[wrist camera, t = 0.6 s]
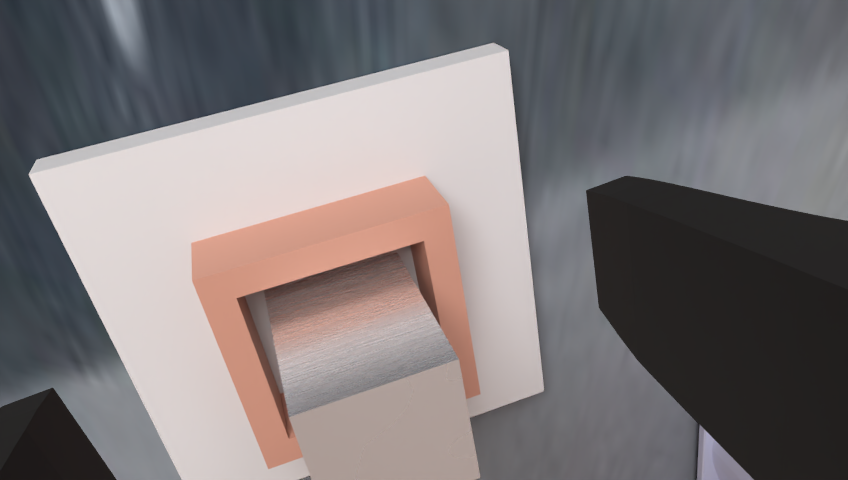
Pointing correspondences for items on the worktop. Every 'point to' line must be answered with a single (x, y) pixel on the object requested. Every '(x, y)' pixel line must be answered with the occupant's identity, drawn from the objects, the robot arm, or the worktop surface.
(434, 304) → the stand base
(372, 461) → the column
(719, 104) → the worktop surface
